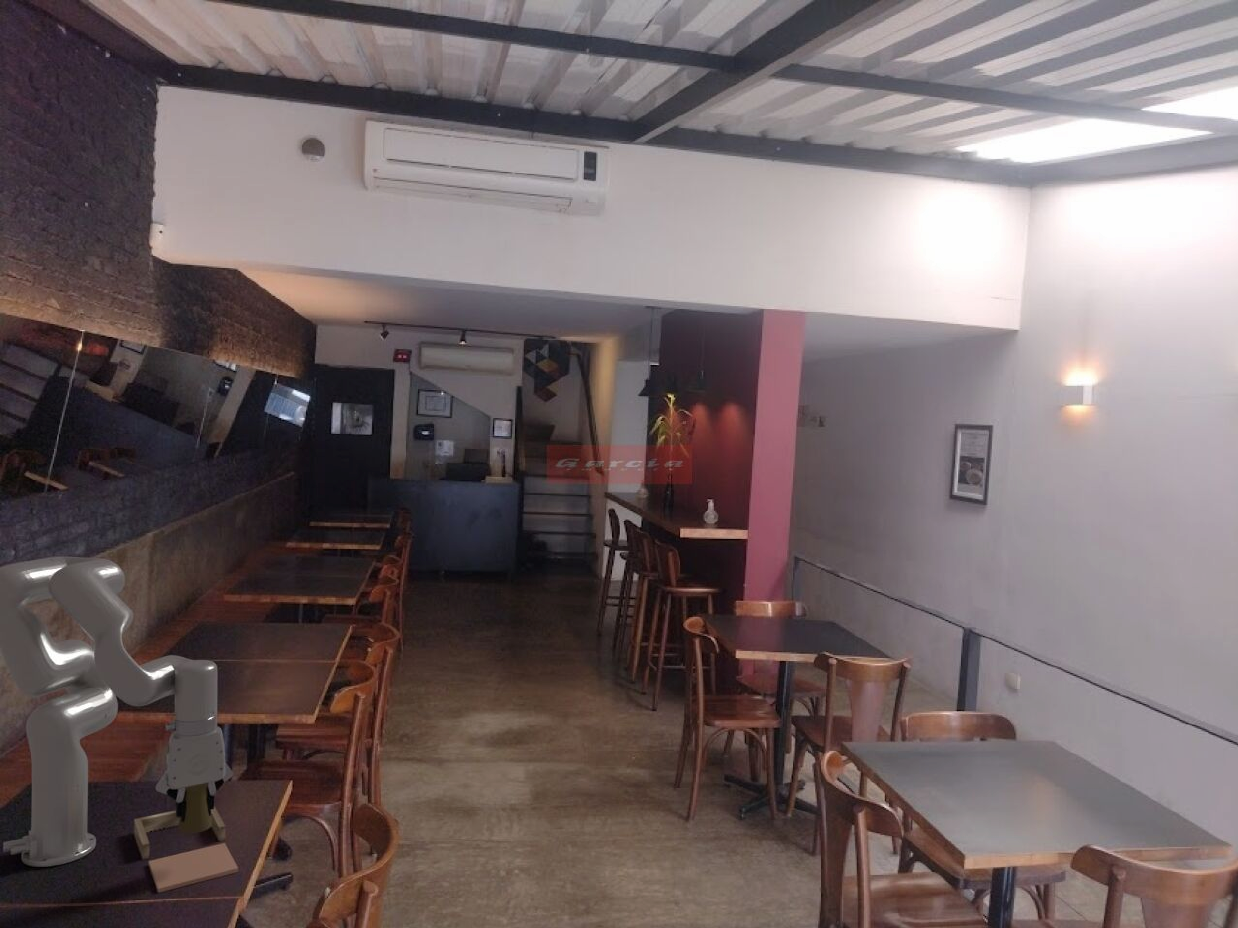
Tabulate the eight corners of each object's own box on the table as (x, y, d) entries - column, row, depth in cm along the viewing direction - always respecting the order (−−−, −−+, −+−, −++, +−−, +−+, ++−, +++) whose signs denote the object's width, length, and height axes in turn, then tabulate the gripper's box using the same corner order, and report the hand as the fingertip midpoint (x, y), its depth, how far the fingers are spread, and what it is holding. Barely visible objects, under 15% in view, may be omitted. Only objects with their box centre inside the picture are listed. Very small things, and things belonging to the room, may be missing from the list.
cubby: (142, 859, 170) (142, 844, 170) (133, 832, 180) (133, 819, 180) (225, 839, 179) (225, 825, 179) (212, 815, 190) (212, 802, 189)
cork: (198, 835, 163) (198, 779, 163) (170, 831, 164) (171, 776, 164) (218, 821, 169) (219, 767, 169) (192, 817, 170) (193, 764, 170)
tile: (158, 892, 158) (158, 888, 158) (148, 864, 168) (148, 860, 168) (238, 871, 167) (238, 867, 167) (224, 846, 176) (224, 842, 176)
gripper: (150, 738, 158) (150, 834, 159) (245, 722, 168) (244, 813, 169) (144, 726, 164) (144, 819, 165) (236, 711, 174) (236, 799, 175)
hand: (195, 815), depth 167 cm, fingers closed on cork, 3 cm apart
